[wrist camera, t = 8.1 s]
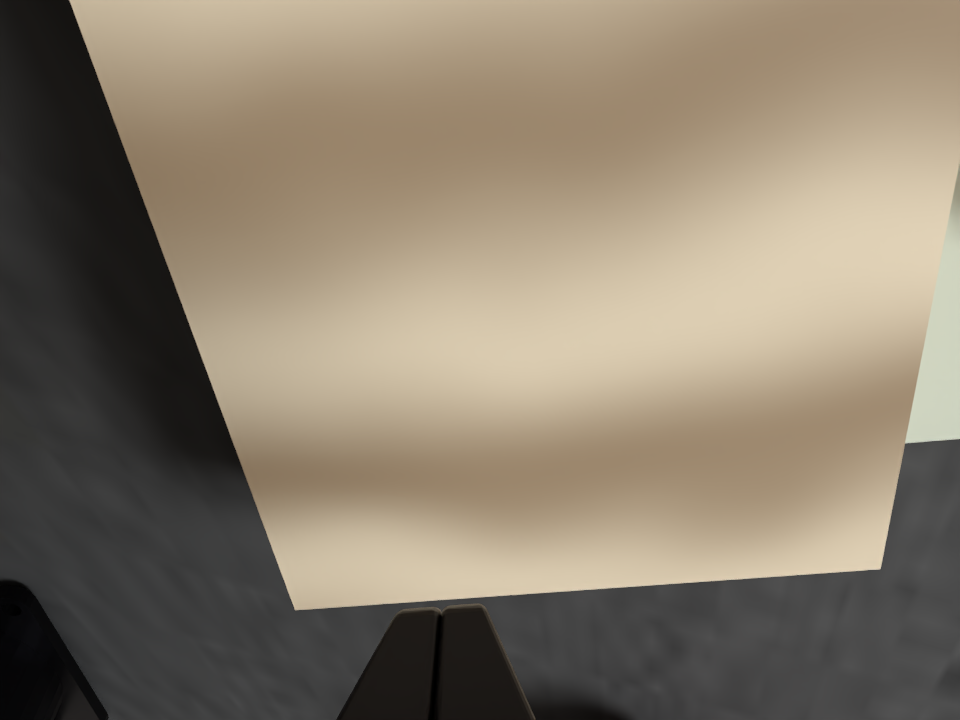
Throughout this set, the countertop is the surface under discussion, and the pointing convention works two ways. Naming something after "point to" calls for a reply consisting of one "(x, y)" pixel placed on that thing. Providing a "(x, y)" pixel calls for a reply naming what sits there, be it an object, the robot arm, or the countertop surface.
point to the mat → (941, 347)
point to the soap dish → (549, 274)
